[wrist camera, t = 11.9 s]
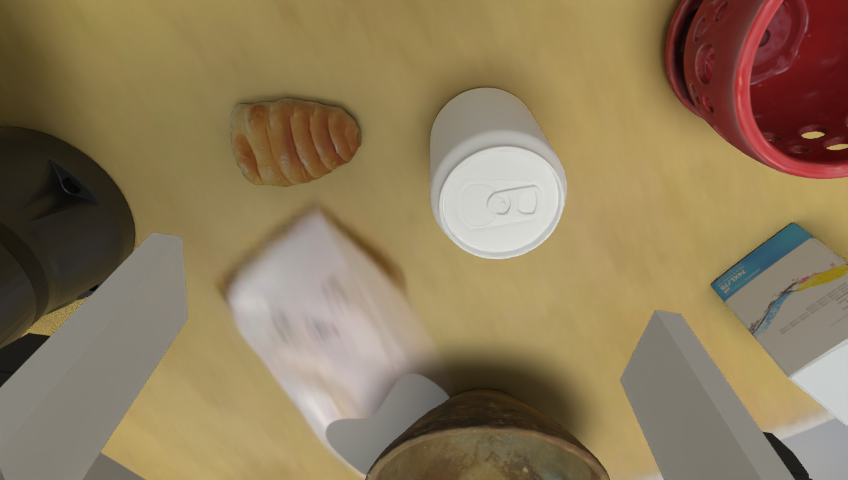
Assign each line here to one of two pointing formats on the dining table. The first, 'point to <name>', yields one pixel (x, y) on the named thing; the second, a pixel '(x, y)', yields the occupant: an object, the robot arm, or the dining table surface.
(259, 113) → the pastry
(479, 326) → the dining table surface
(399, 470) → the bowl
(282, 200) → the dining table surface
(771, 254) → the ink box
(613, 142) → the dining table surface
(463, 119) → the beverage can
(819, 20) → the plant pot
